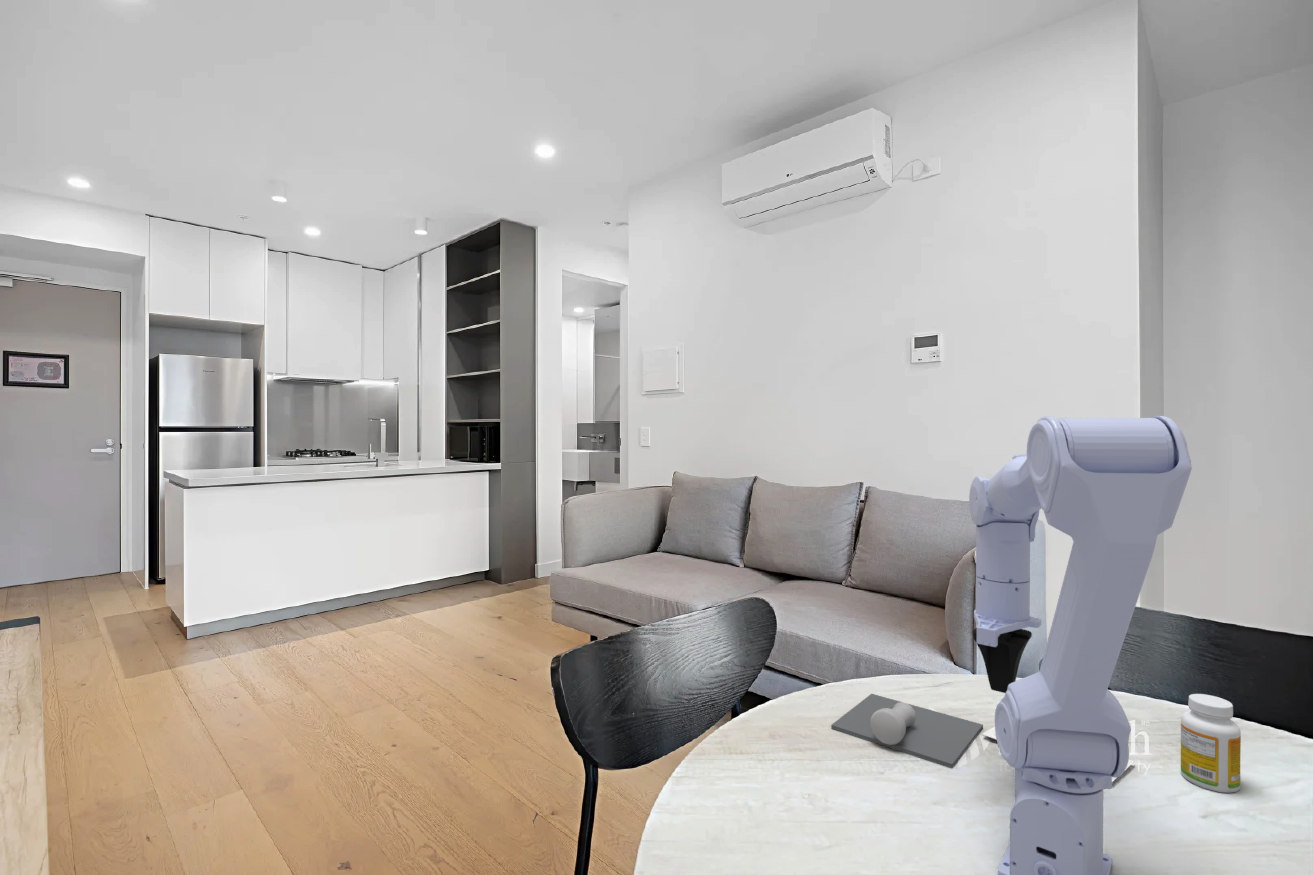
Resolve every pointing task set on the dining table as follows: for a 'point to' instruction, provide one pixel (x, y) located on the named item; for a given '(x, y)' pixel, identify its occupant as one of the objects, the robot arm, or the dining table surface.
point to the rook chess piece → (892, 723)
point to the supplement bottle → (1210, 744)
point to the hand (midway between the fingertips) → (1001, 690)
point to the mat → (915, 731)
